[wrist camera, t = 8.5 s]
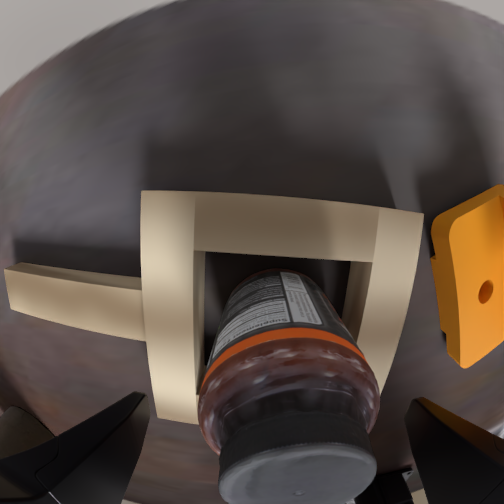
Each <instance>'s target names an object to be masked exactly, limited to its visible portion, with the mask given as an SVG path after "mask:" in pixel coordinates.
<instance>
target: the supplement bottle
mask: <svg viewBox="0 0 504 504" xmlns="http://www.w3.org/2000/svg"><path fill="white" fill-rule="evenodd" d="M379 409H380V393H379V387H378V383H377V380H376V378H375V375H374V372H373V371H372V369H371V367H370V366H369V364H368V363H367V361H366V359H365V357H364V354H363V353H362V351H361V350H360V349H359V347H358V345H357V344H356V342H355V341H354V339H353V337H352V336H351V334H350V333H349V331H348V330H347V328H346V327H345V325H344V324H343V322H342V320H341V319H340V317H339V316H338V314H337V312H336V311H335V309H334V307H333V306H332V305H331V303H330V301H329V300H328V298H327V296H326V295H325V294H324V292H323V291H322V290H321V288H320V287H319V286H318V285H317V284H316V283H315V282H314V281H312V280H311V279H310V278H309V277H307V276H306V275H304V274H302V273H300V272H296V271H293V270H289V269H280V268H273V269H267V270H263V271H260V272H257V273H255V274H253V275H251V276H249V277H247V278H246V279H244V280H243V281H242V282H241V283H240V284H238V285H237V287H236V288H235V289H234V290H233V291H232V293H231V294H230V297H229V298H228V301H227V303H226V305H225V307H224V310H223V314H222V318H221V321H220V324H219V328H218V331H217V334H216V338H215V341H214V344H213V348H212V351H211V355H210V358H209V362H208V365H207V369H206V372H205V376H204V380H203V384H202V387H201V391H200V394H199V400H198V410H197V412H198V423H199V427H200V430H201V432H202V434H203V436H204V438H205V440H206V442H207V443H208V445H209V446H210V447H211V448H212V450H213V451H215V452H216V453H217V454H218V455H219V456H220V458H219V464H220V471H219V480H218V488H219V492H220V494H221V496H222V498H223V499H224V500H225V501H227V502H228V503H229V504H345V503H347V502H349V501H350V500H352V499H354V498H355V497H356V496H358V495H359V494H361V493H362V492H363V491H364V490H365V489H366V488H367V487H368V486H369V485H370V483H371V482H372V480H373V479H374V477H375V475H376V471H377V462H376V459H375V456H374V454H373V451H372V447H371V444H370V439H369V436H368V434H369V433H370V431H371V429H372V428H373V426H374V424H375V422H376V419H377V416H378V412H379Z"/></svg>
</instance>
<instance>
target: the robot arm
mask: <svg viewBox="0 0 504 504" xmlns="http://www.w3.org/2000/svg"><path fill="white" fill-rule="evenodd" d="M149 419H150V407H149V402H148V397H147V395H146V394H145V393H141V392H137V391H135V392H132V393H131V394H129V395H127V396H126V397H124V398H122V399H121V400H119V401H117V402H116V403H114V404H112V405H111V406H109V407H107V408H106V409H104V410H102V411H101V412H99V413H97V414H95V415H94V416H92V417H90V418H88V419H87V420H85V421H83V422H81V423H80V424H78V425H76V426H74V427H72V428H70V429H69V430H67V431H65V432H63V433H61V434H59V435H58V436H56V437H54V438H52V439H50V440H48V441H46V442H44V443H42V444H40V445H38V446H35V447H33V448H30V449H28V450H25V451H22V452H19V453H17V454H14V455H11V456H8V457H5V458H1V459H0V504H121V502H122V499H123V497H124V494H125V492H126V489H127V487H128V484H129V481H130V479H131V476H132V474H133V471H134V469H135V466H136V464H137V461H138V459H139V456H140V453H141V450H142V446H143V442H144V438H145V434H146V430H147V427H148V423H149ZM404 421H405V425H406V429H407V433H408V437H409V442H410V446H411V450H412V454H413V457H414V460H415V463H416V466H417V469H418V472H419V475H420V478H421V481H422V484H423V487H424V490H425V494H426V497H427V500H428V504H504V439H502V438H500V437H498V436H496V435H494V434H492V433H490V432H488V431H486V430H484V429H482V428H480V427H478V426H476V425H474V424H472V423H470V422H469V421H467V420H465V419H463V418H461V417H459V416H457V415H455V414H453V413H452V412H450V411H448V410H446V409H444V408H442V407H440V406H439V405H437V404H435V403H433V402H431V401H430V400H428V399H426V398H424V397H420V398H415V399H413V400H412V401H411V403H410V405H409V407H408V410H407V412H406V414H405V417H404ZM412 473H413V470H412V468H409V469H406V470H402V471H398V472H394V473H390V474H385V475H381V476H376V477H374V479H373V480H372V482H371V483H370V485H369V486H368V487H367V488H366V489H365V490H364V491H363V492H362V493H361V494H359V495H358V496H356V497H355V498H354V499H352V500H350V501H349V502H347V503H345V504H414V503H413V498H412V496H411V493H410V491H409V488H408V486H407V483H406V480H407V479H408V478H409V477H410V475H411V474H412Z"/></svg>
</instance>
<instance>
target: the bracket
mask: <svg viewBox="0 0 504 504" xmlns="http://www.w3.org/2000/svg"><path fill="white" fill-rule="evenodd" d="M431 236H432V241H433V245H434V250H435V256H433V257H431V258H430V260H431V265H432V270H433V276H434V281H435V288H436V294H437V301H438V309H439V317H440V327H441V330H442V331H444V332H445V333H446V339H447V352H448V354H449V355H450V356H451V357H452V358H453V359H454V360H455V361H456V362H457V363H458V364H459V365H460V366H461V367H462V368H468V367H470V366H471V365H473V364H474V363H475V362H477V361H478V360H479V359H481V358H482V357H484V356H485V355H486V354H487V353H489V352H490V351H491V350H493V349H494V348H495V347H496V346H498V345H499V344H500V343H501V342H502V341H504V185H500V184H498V185H496V186H494V187H492V188H490V189H488V190H486V191H485V192H483V193H481V194H479V195H477V196H475V197H473V198H471V199H469V200H467V201H465V202H463V203H461V204H459V205H457V206H455V207H453V208H451V209H449V210H447V211H445V212H443V213H441V214H439V215H438V216H437V217H436V218H435V219H434V221H433V224H432V227H431Z"/></svg>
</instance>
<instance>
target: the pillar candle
mask: <svg viewBox="0 0 504 504" xmlns="http://www.w3.org/2000/svg"><path fill="white" fill-rule="evenodd" d="M52 438H54V436H53V435H52V434H51V433H50V432H49V431H48V430H47V429H46V428H44V426H43V425H42V424H41V423H40V422H39V421H37V419H35V418H34V417H33V416H32V415H30V414H29V413H27V412H25V411H24V410H22V409H20V408H18V407H15V406H11V407H9V408H8V409H7V410H6V411H5V412H4V413H3V414H2V415H1V417H0V459H1V458H5V457H8V456H11V455H14V454H17V453H19V452H22V451H25V450H28V449H30V448H33V447H35V446H38V445H40V444H42V443H44V442H46V441H48V440H50V439H52Z"/></svg>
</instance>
